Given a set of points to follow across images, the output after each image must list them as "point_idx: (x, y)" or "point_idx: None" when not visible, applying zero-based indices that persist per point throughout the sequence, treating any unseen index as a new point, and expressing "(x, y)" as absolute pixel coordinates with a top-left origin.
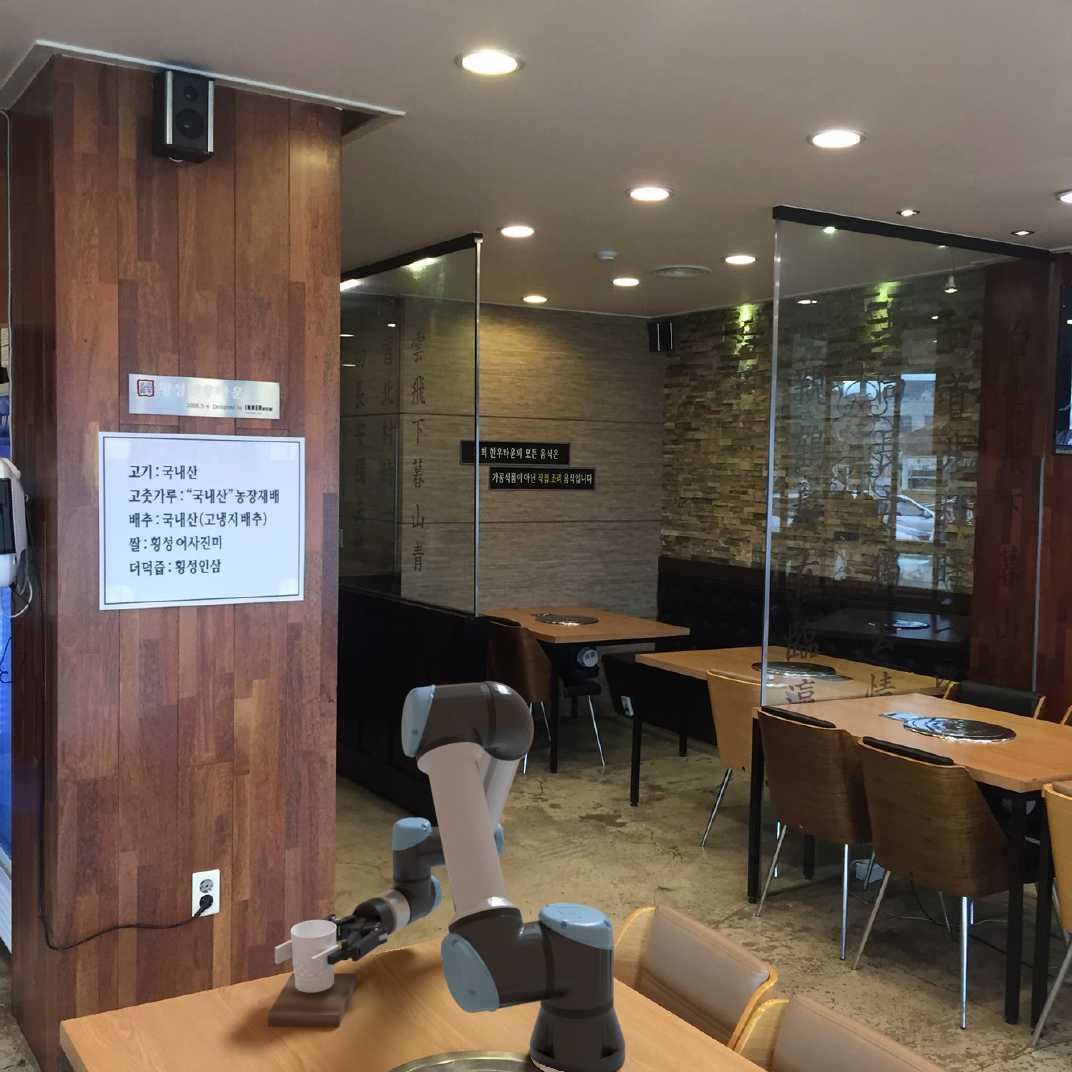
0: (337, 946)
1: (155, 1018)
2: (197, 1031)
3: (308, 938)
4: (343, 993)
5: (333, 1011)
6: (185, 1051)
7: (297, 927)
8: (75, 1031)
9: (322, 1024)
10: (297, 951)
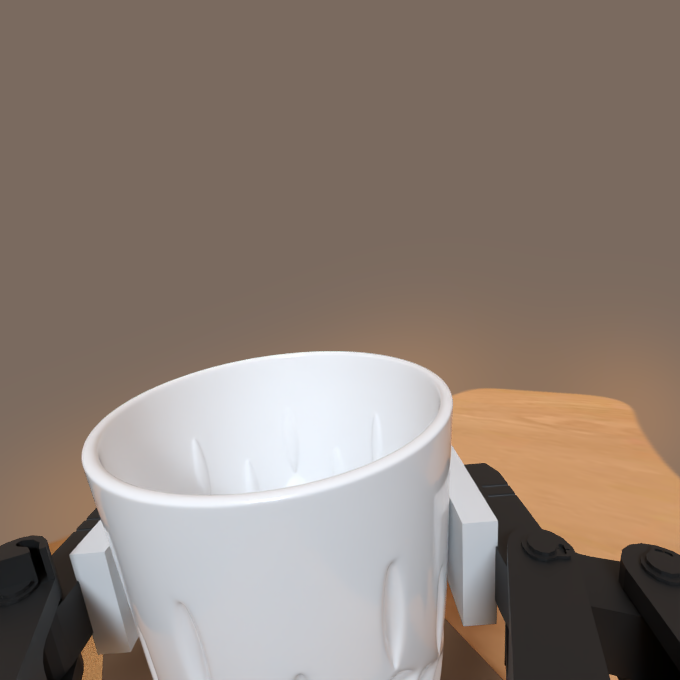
0: (86, 536)
1: (587, 452)
2: None
3: (234, 366)
4: None
5: (136, 645)
6: None
7: (429, 397)
8: (599, 397)
9: None
10: (311, 428)
